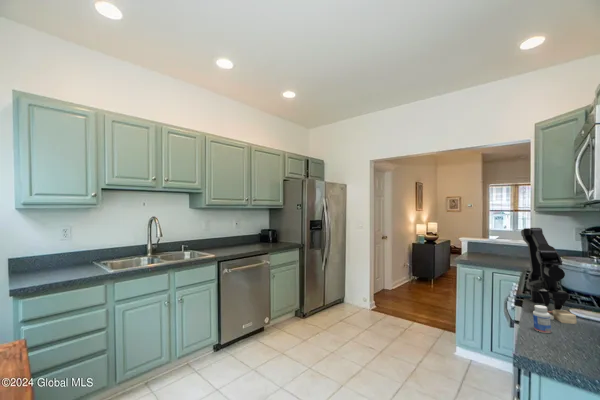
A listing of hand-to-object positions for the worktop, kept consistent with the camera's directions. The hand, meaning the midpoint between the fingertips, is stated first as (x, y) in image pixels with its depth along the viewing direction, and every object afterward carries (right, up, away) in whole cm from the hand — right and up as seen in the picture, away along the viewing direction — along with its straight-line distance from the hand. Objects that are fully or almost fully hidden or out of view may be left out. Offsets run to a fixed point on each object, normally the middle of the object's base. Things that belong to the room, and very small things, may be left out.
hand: (551, 308), depth 132 cm
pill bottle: (-21, -2, -19) cm, 28 cm away
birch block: (-2, -2, -9) cm, 9 cm away
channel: (-1, -2, -3) cm, 4 cm away
